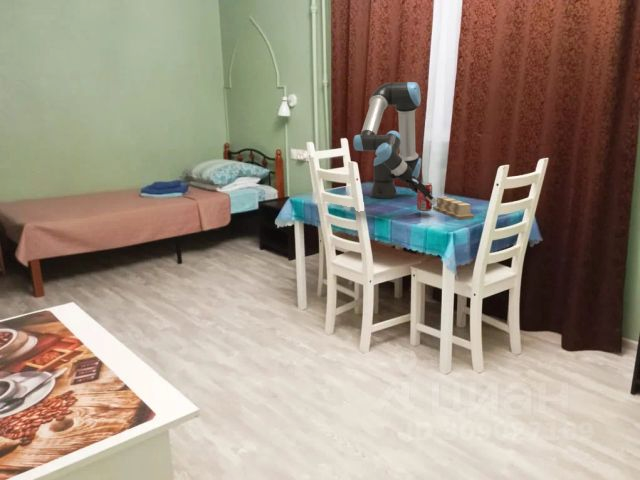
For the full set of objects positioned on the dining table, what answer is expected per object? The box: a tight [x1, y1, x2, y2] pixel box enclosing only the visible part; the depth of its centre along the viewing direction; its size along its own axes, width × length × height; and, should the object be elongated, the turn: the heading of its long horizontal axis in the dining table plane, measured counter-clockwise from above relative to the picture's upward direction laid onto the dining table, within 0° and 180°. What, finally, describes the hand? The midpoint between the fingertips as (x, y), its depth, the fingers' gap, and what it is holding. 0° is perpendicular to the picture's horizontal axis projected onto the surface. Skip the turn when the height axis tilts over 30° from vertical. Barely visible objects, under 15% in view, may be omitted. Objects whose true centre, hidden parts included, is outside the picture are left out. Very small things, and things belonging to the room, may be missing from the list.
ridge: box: [432, 195, 475, 221], centre depth 251 cm, size 24×8×6 cm, turn 18°
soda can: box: [416, 182, 433, 212], centre depth 248 cm, size 7×7×13 cm
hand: (430, 201), depth 250 cm, fingers closed on soda can, 7 cm apart
